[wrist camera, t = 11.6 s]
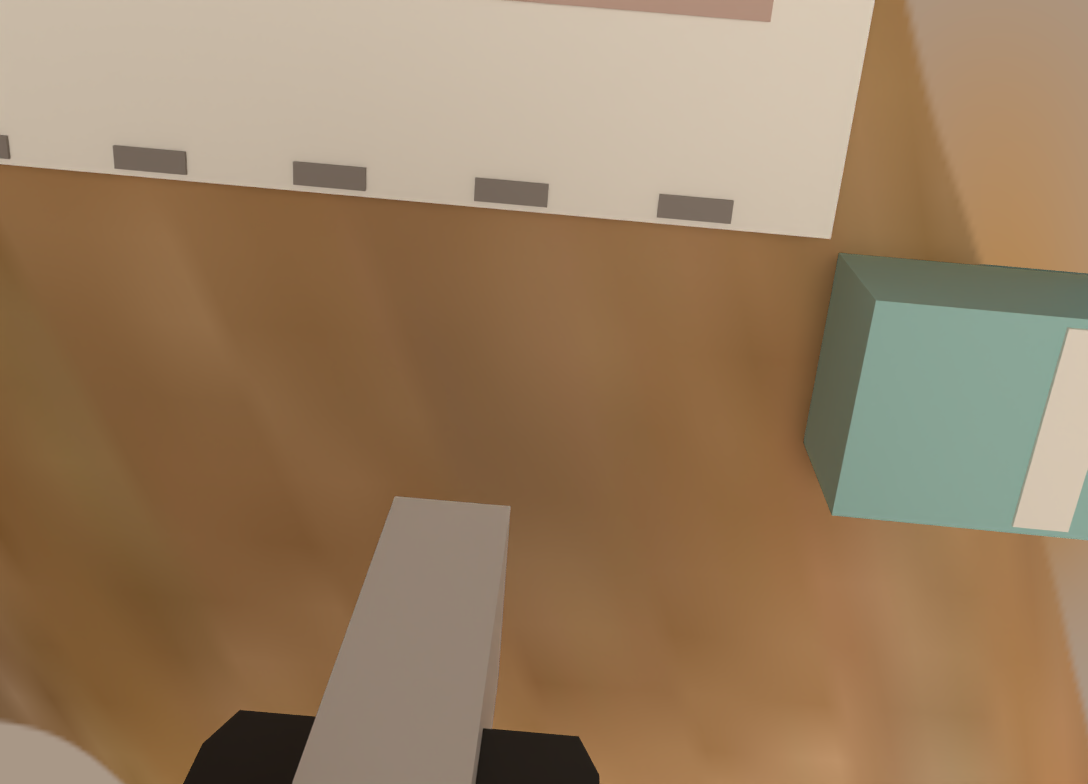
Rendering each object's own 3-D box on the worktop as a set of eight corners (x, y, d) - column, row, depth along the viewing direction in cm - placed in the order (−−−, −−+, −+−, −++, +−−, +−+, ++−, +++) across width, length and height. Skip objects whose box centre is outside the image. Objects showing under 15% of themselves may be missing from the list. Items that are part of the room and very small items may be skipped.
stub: (802, 440, 27) (832, 517, 23) (837, 250, 25) (877, 302, 21) (1037, 462, 26) (1107, 544, 23) (1091, 273, 25) (1177, 328, 21)
